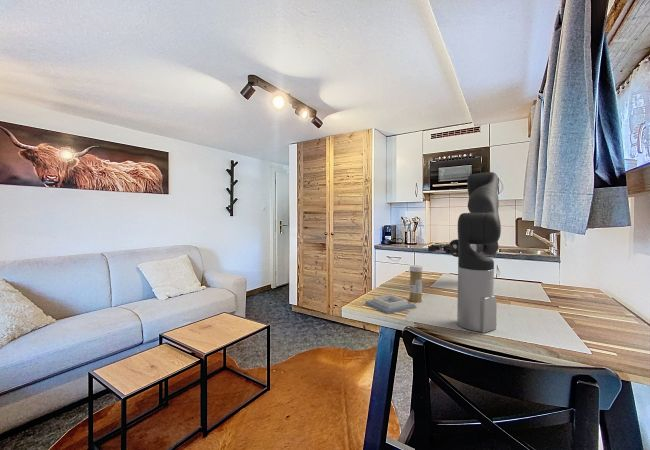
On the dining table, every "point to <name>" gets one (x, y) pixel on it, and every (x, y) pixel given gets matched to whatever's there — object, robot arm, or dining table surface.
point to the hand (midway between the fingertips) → (437, 250)
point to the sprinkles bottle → (415, 283)
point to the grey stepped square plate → (390, 304)
